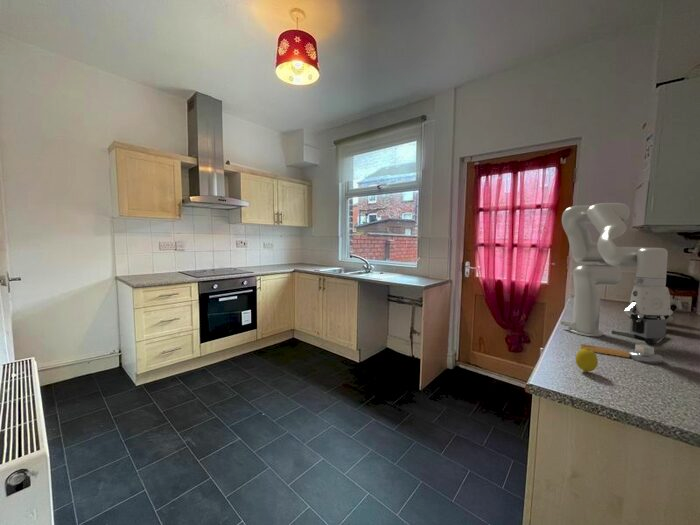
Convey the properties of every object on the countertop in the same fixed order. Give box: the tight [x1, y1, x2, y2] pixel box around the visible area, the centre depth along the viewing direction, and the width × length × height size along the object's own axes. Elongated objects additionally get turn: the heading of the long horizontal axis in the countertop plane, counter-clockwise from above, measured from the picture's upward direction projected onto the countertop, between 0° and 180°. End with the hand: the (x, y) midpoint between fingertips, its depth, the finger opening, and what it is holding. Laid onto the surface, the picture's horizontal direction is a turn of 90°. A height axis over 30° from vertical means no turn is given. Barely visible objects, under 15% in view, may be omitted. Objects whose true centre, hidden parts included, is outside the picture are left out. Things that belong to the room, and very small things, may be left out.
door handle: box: [611, 329, 669, 346], centre depth 130 cm, size 3×20×16 cm
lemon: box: [575, 348, 599, 373], centre depth 95 cm, size 6×6×8 cm
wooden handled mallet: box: [579, 343, 663, 365], centre depth 110 cm, size 22×9×5 cm, turn 57°
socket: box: [629, 315, 667, 339], centre depth 105 cm, size 6×6×8 cm
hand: (647, 332), depth 105 cm, fingers closed on socket, 6 cm apart
